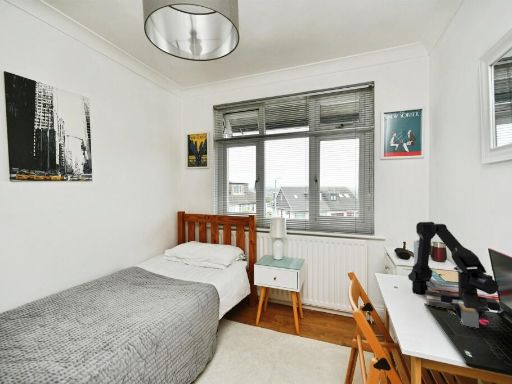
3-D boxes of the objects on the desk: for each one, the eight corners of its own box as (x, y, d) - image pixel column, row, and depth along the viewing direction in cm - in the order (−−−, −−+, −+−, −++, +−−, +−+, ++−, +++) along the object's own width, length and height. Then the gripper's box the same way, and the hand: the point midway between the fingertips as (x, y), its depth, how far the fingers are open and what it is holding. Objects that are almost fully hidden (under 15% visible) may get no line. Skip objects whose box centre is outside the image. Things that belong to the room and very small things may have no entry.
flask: (428, 286, 135) (426, 243, 135) (418, 285, 137) (417, 242, 137) (422, 276, 151) (421, 237, 150) (414, 275, 153) (413, 236, 152)
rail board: (427, 306, 114) (427, 300, 114) (424, 295, 125) (424, 289, 125) (483, 316, 104) (483, 309, 104) (474, 303, 115) (474, 297, 115)
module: (462, 325, 98) (462, 310, 98) (458, 317, 104) (458, 303, 104) (478, 329, 95) (478, 313, 95) (473, 320, 101) (473, 305, 101)
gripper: (442, 287, 97) (443, 324, 97) (506, 295, 88) (507, 337, 88) (438, 277, 107) (439, 312, 107) (495, 284, 97) (496, 322, 97)
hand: (468, 320), depth 99 cm, fingers closed on module, 5 cm apart
